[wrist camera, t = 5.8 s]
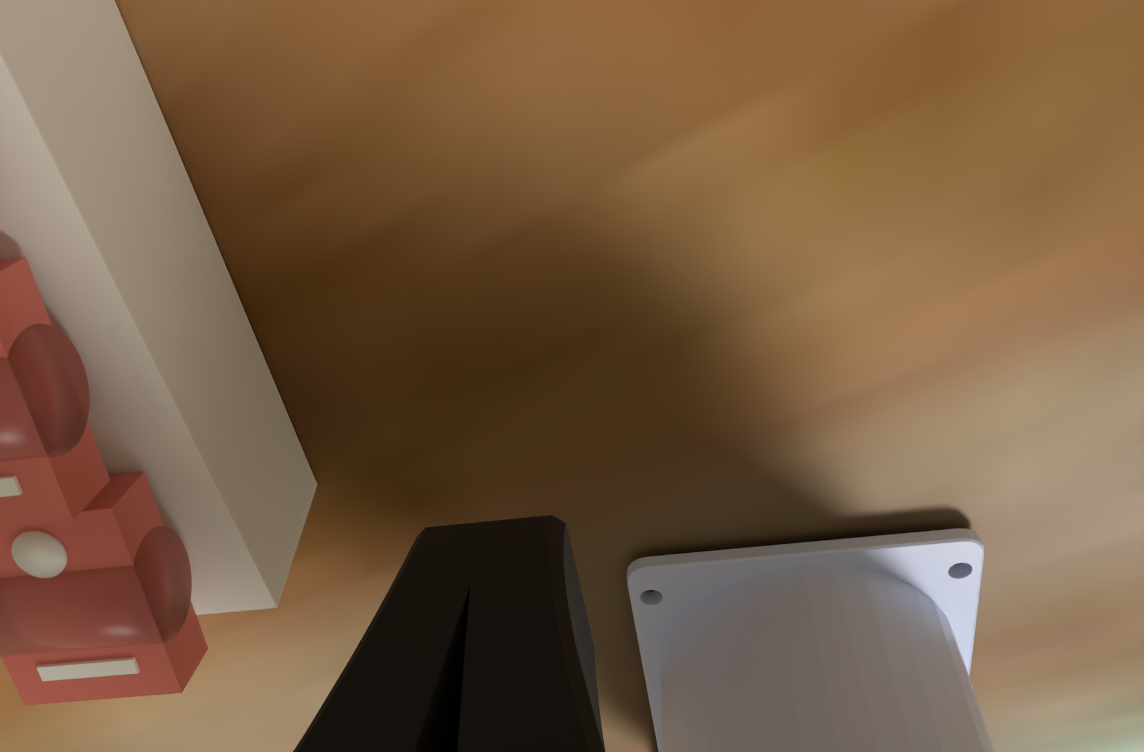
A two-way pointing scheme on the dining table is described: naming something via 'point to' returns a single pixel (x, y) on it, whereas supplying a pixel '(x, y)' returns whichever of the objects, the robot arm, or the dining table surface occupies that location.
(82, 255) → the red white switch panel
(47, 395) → the red stepped block
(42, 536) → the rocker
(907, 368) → the dining table surface
